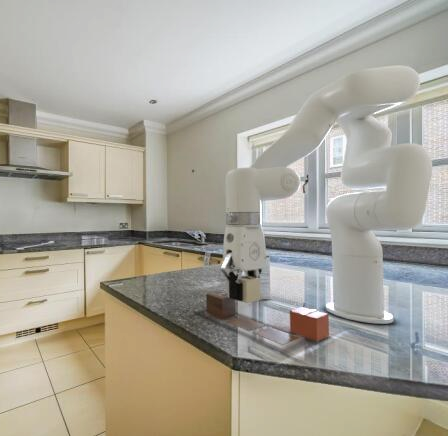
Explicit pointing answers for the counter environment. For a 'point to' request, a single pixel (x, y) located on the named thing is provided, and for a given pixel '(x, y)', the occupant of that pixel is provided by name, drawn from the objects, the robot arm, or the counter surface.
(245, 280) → the cross-marked cream cube
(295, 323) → the orange block
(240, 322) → the word board
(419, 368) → the counter surface
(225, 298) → the dark wood block
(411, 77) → the robot arm
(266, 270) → the syrup box
